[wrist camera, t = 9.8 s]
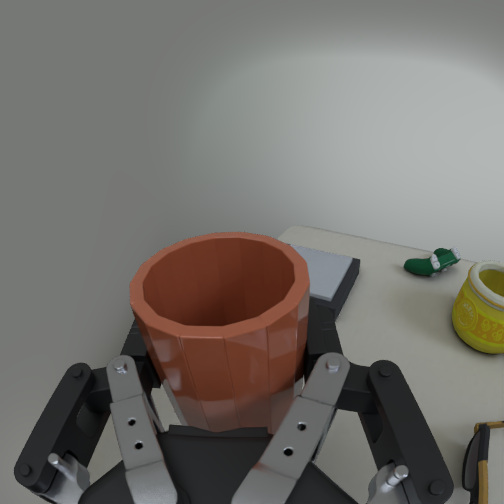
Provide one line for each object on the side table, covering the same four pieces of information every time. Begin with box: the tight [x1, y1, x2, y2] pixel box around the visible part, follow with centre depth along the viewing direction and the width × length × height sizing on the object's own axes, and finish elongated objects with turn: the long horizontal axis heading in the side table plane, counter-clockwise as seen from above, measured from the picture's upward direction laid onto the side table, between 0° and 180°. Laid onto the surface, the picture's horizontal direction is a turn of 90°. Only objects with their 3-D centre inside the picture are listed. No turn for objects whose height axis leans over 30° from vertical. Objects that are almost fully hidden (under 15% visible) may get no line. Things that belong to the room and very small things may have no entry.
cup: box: [130, 232, 310, 434], centre depth 13 cm, size 6×6×10 cm
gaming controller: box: [404, 246, 460, 277], centre depth 43 cm, size 9×4×6 cm
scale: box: [288, 244, 360, 322], centre depth 43 cm, size 12×12×3 cm
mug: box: [452, 261, 504, 354], centre depth 28 cm, size 13×11×12 cm
